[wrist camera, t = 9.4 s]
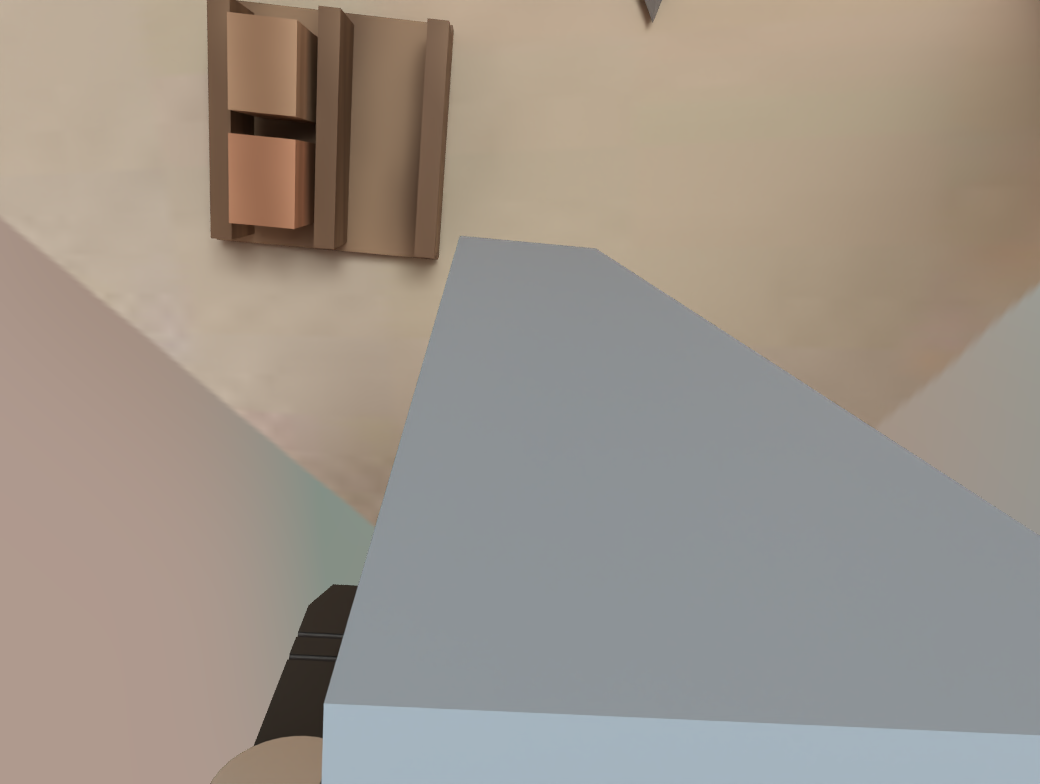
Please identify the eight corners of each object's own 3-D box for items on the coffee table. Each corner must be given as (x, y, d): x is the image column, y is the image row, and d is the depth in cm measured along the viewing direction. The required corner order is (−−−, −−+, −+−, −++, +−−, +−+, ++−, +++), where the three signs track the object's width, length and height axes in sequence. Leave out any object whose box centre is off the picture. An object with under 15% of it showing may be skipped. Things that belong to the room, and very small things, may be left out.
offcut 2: (321, 144, 40) (295, 139, 34) (319, 221, 41) (294, 228, 35) (263, 138, 40) (228, 132, 34) (263, 215, 41) (228, 223, 35)
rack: (453, 30, 40) (450, 9, 35) (438, 256, 43) (433, 268, 38) (223, 4, 39) (183, -23, 34) (225, 237, 42) (190, 246, 37)
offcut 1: (324, 42, 39) (297, 19, 33) (322, 124, 40) (295, 116, 34) (264, 35, 38) (226, 11, 33) (264, 118, 39) (227, 109, 34)
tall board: (595, 248, 17) (1374, 750, 2) (551, 607, 19) (780, 1951, 5) (459, 236, 16) (323, 700, 2) (432, 600, 19) (286, 1996, 4)
